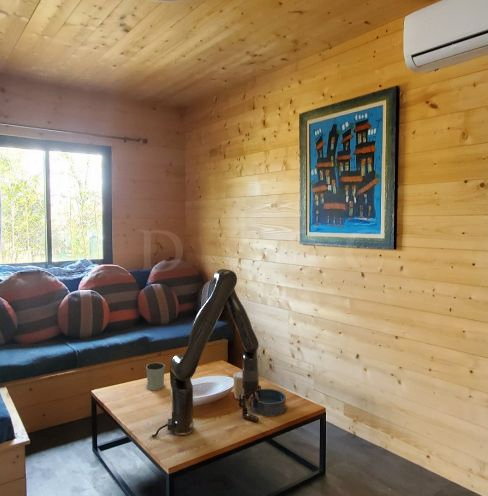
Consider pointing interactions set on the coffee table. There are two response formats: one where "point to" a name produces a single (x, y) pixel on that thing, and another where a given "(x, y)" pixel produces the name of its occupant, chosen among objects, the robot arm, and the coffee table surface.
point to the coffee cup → (238, 384)
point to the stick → (251, 417)
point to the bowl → (270, 403)
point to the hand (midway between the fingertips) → (250, 411)
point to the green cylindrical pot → (155, 376)
